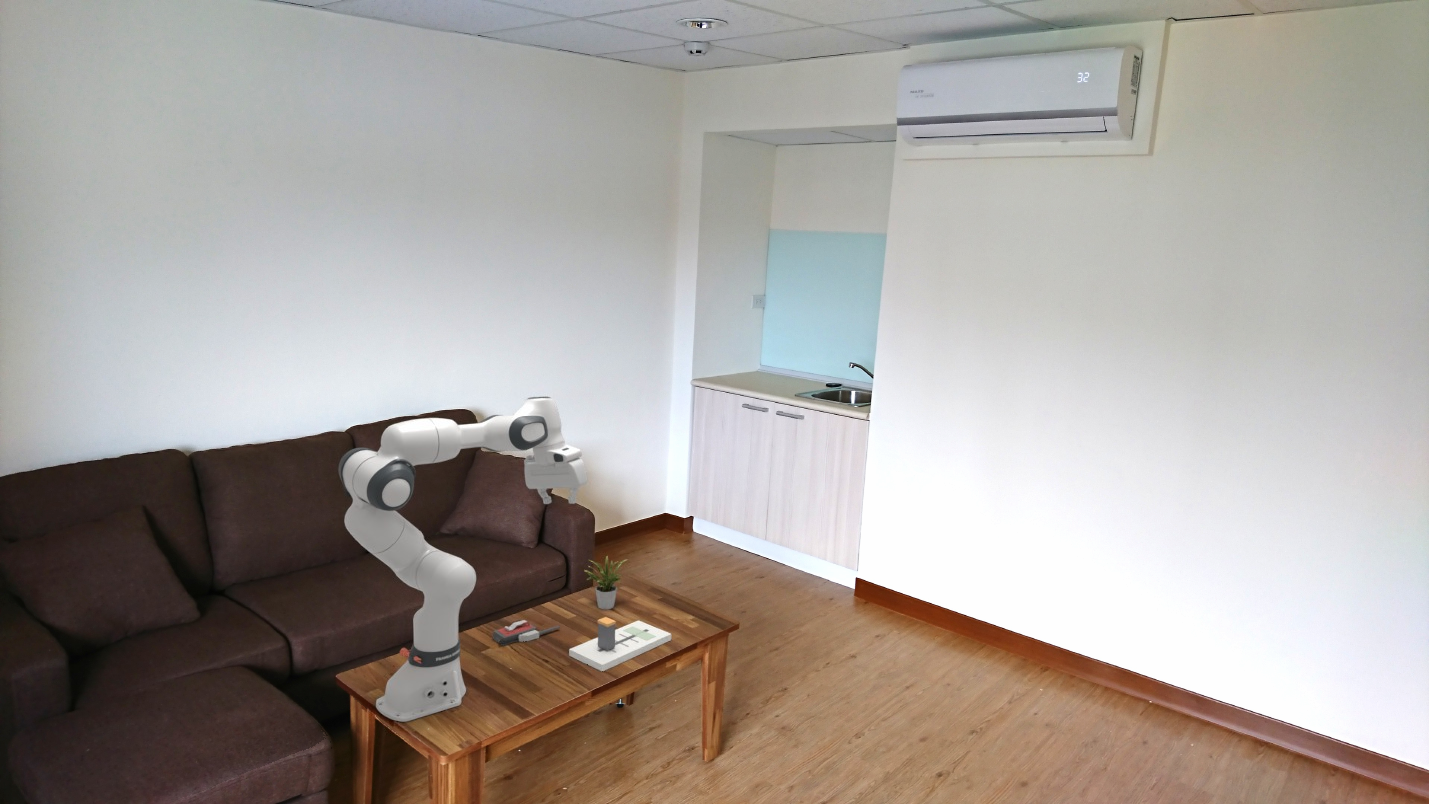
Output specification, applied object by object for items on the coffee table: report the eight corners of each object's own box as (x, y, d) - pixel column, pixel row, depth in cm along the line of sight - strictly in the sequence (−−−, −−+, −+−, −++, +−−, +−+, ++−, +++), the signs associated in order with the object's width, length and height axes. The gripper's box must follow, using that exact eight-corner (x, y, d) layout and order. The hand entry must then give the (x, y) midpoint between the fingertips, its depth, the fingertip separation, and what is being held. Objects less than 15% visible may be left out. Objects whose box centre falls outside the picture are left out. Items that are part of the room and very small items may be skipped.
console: (602, 671, 253) (602, 664, 252) (569, 655, 262) (569, 648, 261) (671, 640, 274) (671, 633, 273) (638, 626, 283) (638, 620, 282)
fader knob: (607, 650, 260) (607, 624, 259) (597, 646, 263) (597, 620, 261) (615, 647, 263) (615, 621, 261) (605, 642, 265) (605, 616, 264)
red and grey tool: (503, 650, 264) (561, 632, 278) (503, 636, 263) (561, 618, 277) (488, 640, 271) (545, 622, 284) (488, 626, 270) (545, 609, 283)
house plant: (614, 593, 308) (615, 547, 305) (638, 606, 298) (639, 559, 295) (578, 603, 299) (578, 555, 296) (601, 617, 289) (601, 568, 286)
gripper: (515, 458, 250) (525, 507, 252) (570, 455, 238) (580, 506, 240) (531, 452, 255) (541, 500, 257) (585, 449, 243) (595, 499, 245)
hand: (560, 503), depth 248 cm, fingers open, 8 cm apart
